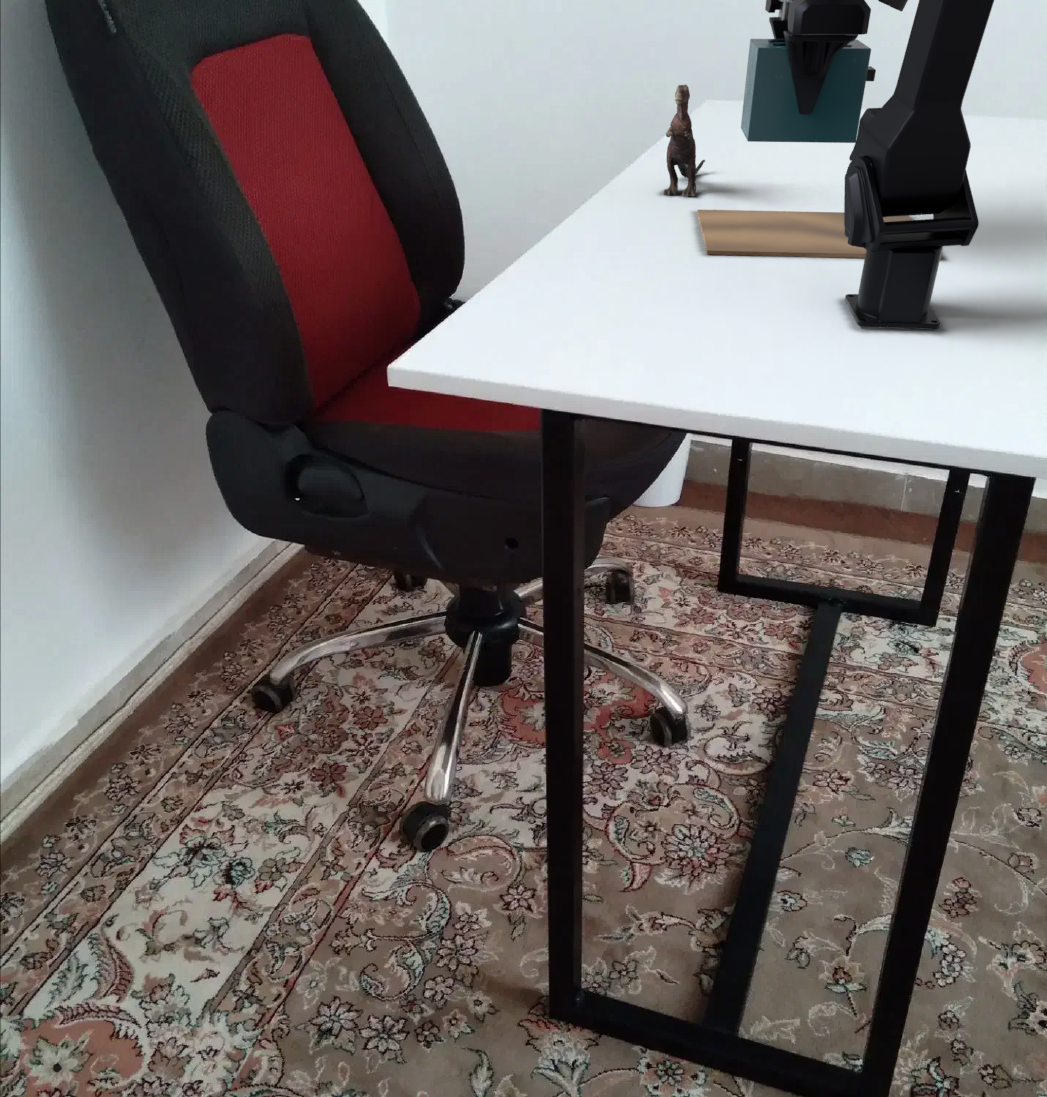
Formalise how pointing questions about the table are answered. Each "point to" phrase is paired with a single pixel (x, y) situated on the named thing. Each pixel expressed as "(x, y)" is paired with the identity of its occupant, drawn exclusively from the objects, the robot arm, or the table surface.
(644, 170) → the table surface
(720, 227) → the mat
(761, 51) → the toaster
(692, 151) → the dinosaur model
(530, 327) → the table surface
